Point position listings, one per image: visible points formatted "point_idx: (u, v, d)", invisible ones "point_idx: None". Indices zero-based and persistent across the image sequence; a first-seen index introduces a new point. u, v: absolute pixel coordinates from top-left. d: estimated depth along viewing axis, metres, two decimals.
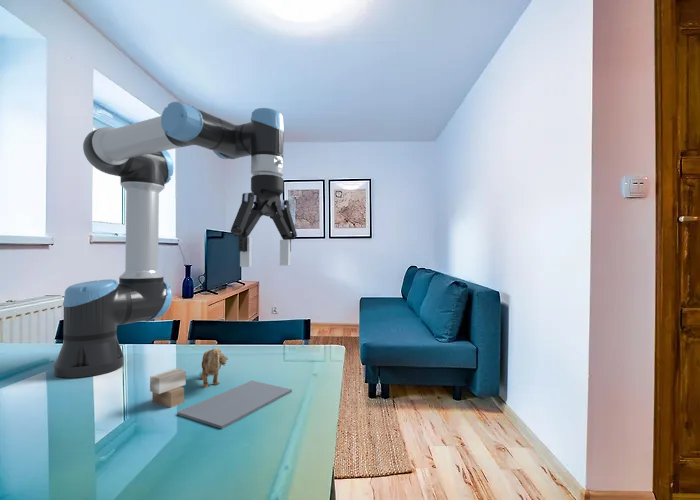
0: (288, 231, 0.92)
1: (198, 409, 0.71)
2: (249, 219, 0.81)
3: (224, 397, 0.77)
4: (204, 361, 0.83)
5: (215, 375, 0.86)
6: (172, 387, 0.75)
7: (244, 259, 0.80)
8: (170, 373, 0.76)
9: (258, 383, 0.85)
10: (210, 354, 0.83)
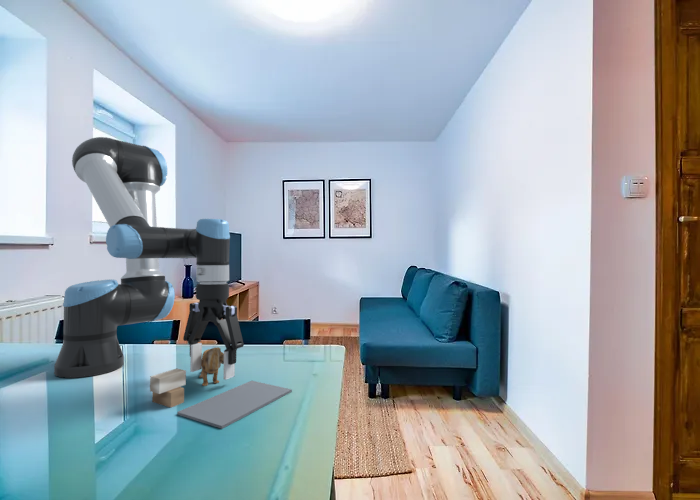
0: (226, 341, 0.84)
1: (198, 409, 0.71)
2: None
3: (224, 397, 0.77)
4: (204, 360, 0.84)
5: (215, 374, 0.87)
6: (172, 387, 0.75)
7: None
8: (170, 373, 0.76)
9: (258, 383, 0.85)
10: (210, 353, 0.84)
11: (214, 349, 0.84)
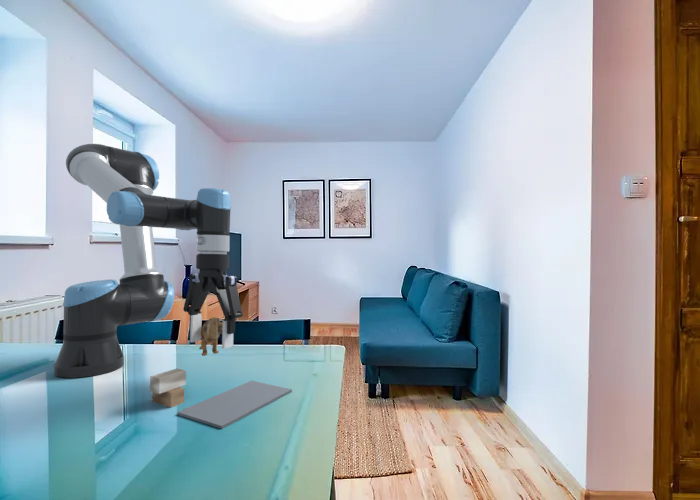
0: (225, 311, 0.85)
1: (198, 409, 0.71)
2: None
3: (224, 397, 0.77)
4: (203, 329, 0.85)
5: (214, 344, 0.88)
6: (172, 387, 0.75)
7: None
8: (170, 373, 0.76)
9: (258, 383, 0.85)
10: (209, 322, 0.84)
11: (213, 319, 0.85)
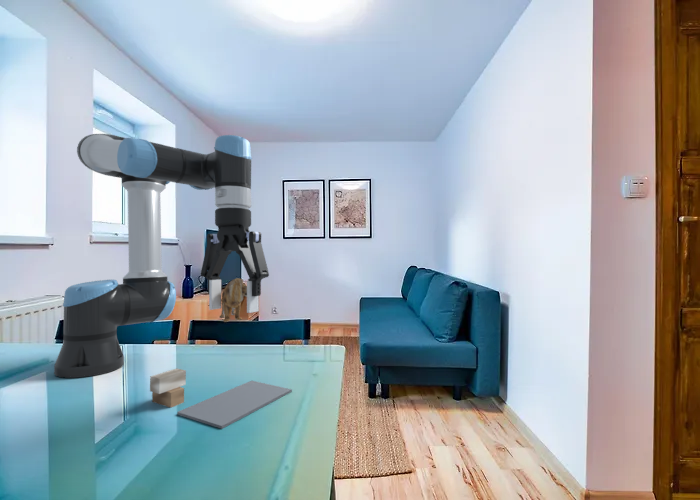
0: (249, 270, 0.75)
1: (198, 409, 0.71)
2: None
3: (224, 397, 0.77)
4: (225, 292, 0.75)
5: (237, 309, 0.78)
6: (172, 387, 0.75)
7: None
8: (170, 373, 0.76)
9: (258, 383, 0.85)
10: (232, 283, 0.75)
11: (236, 279, 0.75)
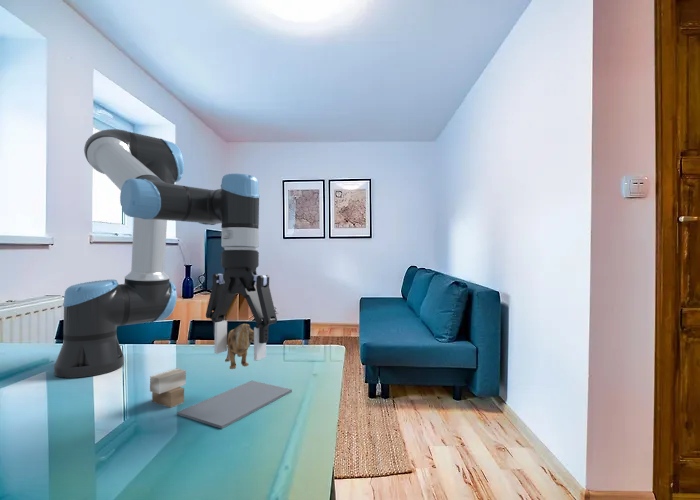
0: (256, 316, 0.72)
1: (198, 409, 0.71)
2: None
3: (224, 397, 0.77)
4: (231, 338, 0.72)
5: (244, 355, 0.75)
6: (172, 387, 0.75)
7: None
8: (170, 373, 0.76)
9: (258, 383, 0.85)
10: (238, 330, 0.72)
11: (242, 325, 0.72)
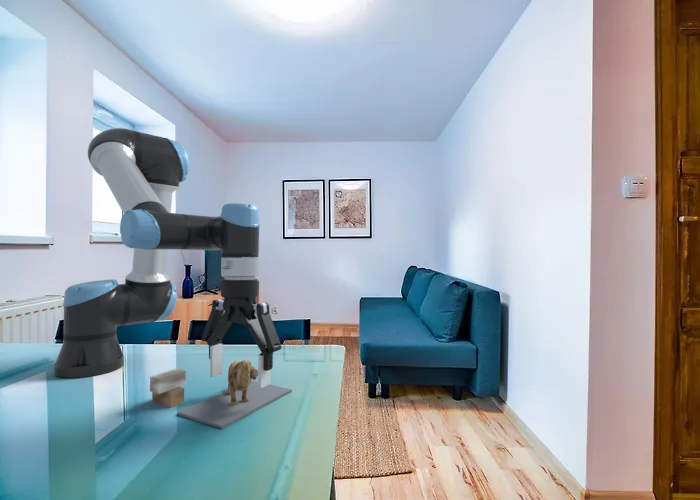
0: (260, 344, 0.72)
1: (198, 409, 0.71)
2: None
3: (224, 397, 0.77)
4: (232, 375, 0.72)
5: (244, 391, 0.75)
6: (172, 387, 0.75)
7: None
8: (170, 373, 0.76)
9: None
10: (239, 367, 0.72)
11: (244, 363, 0.72)
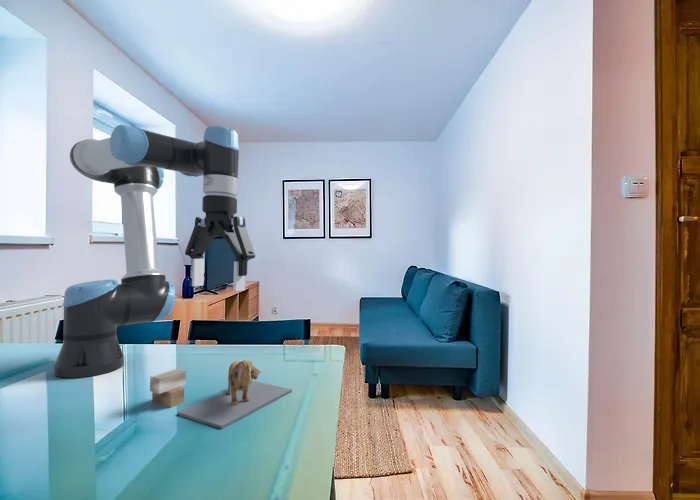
0: (236, 252, 0.80)
1: (198, 409, 0.71)
2: None
3: (224, 397, 0.77)
4: (233, 375, 0.72)
5: (245, 390, 0.75)
6: (172, 387, 0.75)
7: None
8: (170, 373, 0.76)
9: (258, 383, 0.85)
10: (240, 367, 0.72)
11: (245, 362, 0.72)
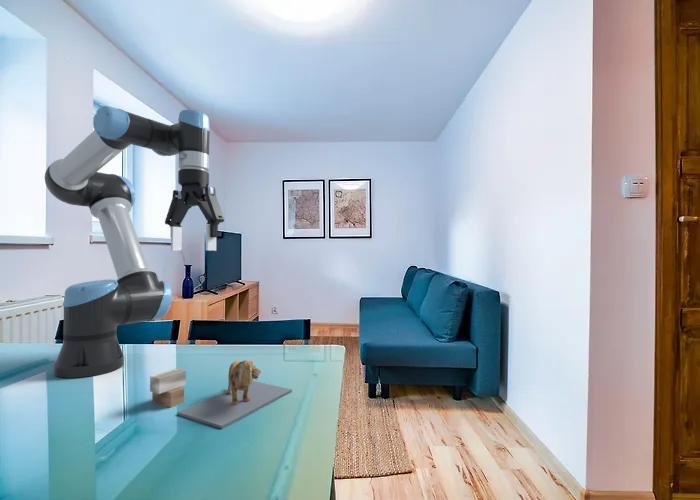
0: (207, 216, 0.92)
1: (198, 409, 0.71)
2: None
3: (224, 397, 0.77)
4: (234, 375, 0.72)
5: (245, 390, 0.75)
6: (172, 387, 0.75)
7: None
8: (170, 373, 0.76)
9: (258, 383, 0.85)
10: (241, 367, 0.72)
11: (245, 362, 0.72)
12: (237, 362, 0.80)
